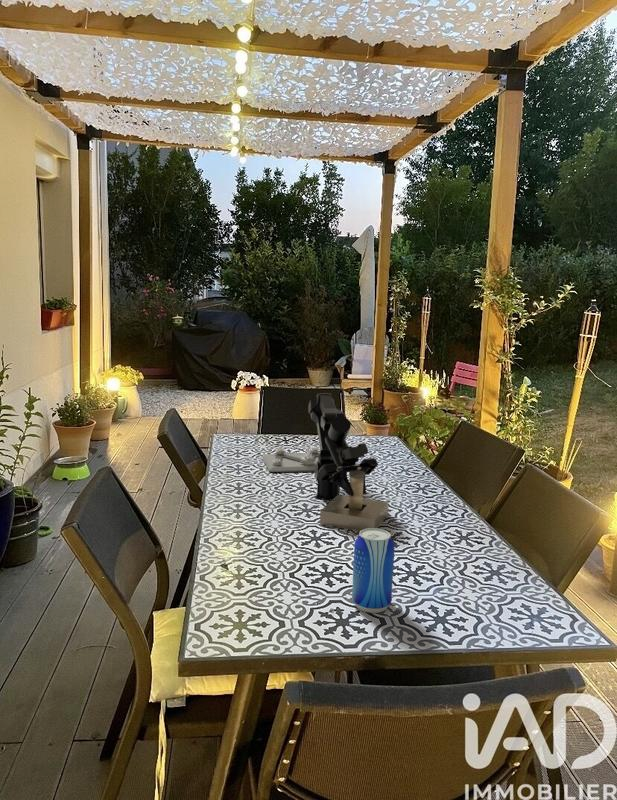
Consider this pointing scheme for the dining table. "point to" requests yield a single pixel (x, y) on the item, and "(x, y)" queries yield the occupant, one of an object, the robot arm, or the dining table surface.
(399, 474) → the dining table surface
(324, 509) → the grey square block
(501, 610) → the dining table surface
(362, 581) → the beer can
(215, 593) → the dining table surface
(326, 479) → the robot arm
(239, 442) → the dining table surface
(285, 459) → the grey linkage board
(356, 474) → the ash pin
